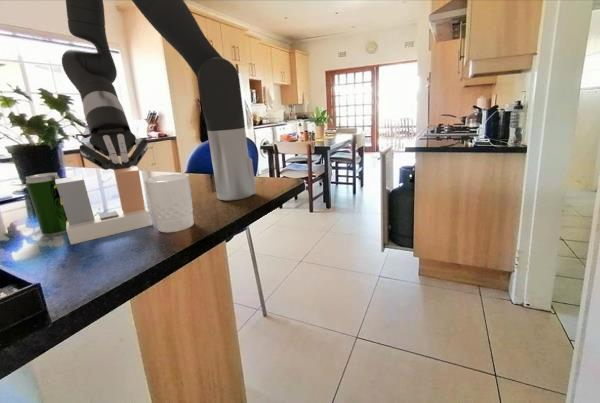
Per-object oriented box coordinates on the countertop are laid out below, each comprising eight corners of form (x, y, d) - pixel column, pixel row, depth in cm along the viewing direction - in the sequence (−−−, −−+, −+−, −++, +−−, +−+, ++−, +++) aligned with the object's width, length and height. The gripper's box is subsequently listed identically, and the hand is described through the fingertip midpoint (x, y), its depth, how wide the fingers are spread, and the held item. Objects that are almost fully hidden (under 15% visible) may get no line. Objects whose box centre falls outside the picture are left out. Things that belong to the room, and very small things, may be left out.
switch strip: (147, 218, 69) (144, 203, 68) (152, 224, 65) (149, 209, 64) (70, 236, 62) (66, 220, 61) (70, 244, 57) (65, 227, 56)
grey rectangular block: (93, 215, 61) (82, 175, 56) (94, 219, 60) (83, 179, 55) (68, 220, 59) (55, 179, 54) (69, 225, 58) (55, 183, 53)
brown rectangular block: (143, 205, 66) (136, 166, 62) (145, 208, 65) (138, 170, 61) (122, 209, 64) (113, 169, 60) (123, 213, 63) (115, 173, 58)
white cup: (145, 232, 60) (134, 182, 58) (174, 219, 68) (165, 173, 65) (178, 235, 58) (168, 182, 55) (205, 220, 65) (197, 173, 62)
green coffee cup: (41, 239, 61) (21, 179, 58) (44, 232, 66) (26, 175, 62) (74, 232, 64) (57, 174, 61) (75, 225, 68) (59, 171, 65)
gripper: (65, 106, 62) (83, 176, 56) (139, 103, 69) (162, 164, 63) (72, 132, 68) (89, 198, 61) (139, 127, 75) (161, 186, 69)
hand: (126, 181), depth 62 cm, fingers closed
